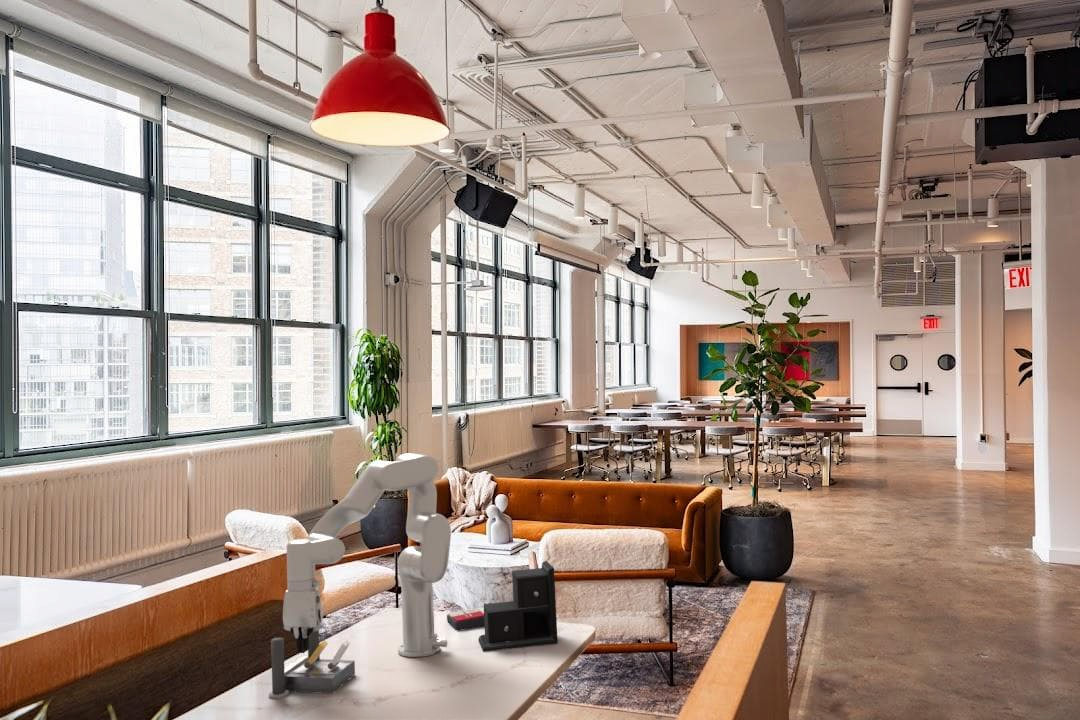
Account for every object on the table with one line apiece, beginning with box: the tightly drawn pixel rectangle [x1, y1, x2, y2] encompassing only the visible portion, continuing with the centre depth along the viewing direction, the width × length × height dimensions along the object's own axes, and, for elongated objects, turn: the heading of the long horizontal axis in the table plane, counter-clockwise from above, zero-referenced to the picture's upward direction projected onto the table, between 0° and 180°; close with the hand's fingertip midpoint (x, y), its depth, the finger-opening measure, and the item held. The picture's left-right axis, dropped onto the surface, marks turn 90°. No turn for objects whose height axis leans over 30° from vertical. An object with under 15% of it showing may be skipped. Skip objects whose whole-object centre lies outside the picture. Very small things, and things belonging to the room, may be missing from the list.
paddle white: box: [328, 640, 351, 669], centre depth 233 cm, size 2×4×8 cm
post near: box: [268, 637, 290, 700], centre depth 226 cm, size 5×5×15 cm
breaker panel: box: [284, 656, 356, 694], centre depth 234 cm, size 16×14×5 cm
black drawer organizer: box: [478, 560, 559, 652], centre depth 264 cm, size 23×11×24 cm, turn 102°
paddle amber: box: [304, 640, 329, 668], centre depth 235 cm, size 2×4×8 cm
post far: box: [307, 630, 321, 659], centre depth 246 cm, size 5×5×15 cm
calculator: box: [446, 606, 485, 631], centre depth 286 cm, size 11×4×15 cm
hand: (303, 651), depth 235 cm, fingers closed
